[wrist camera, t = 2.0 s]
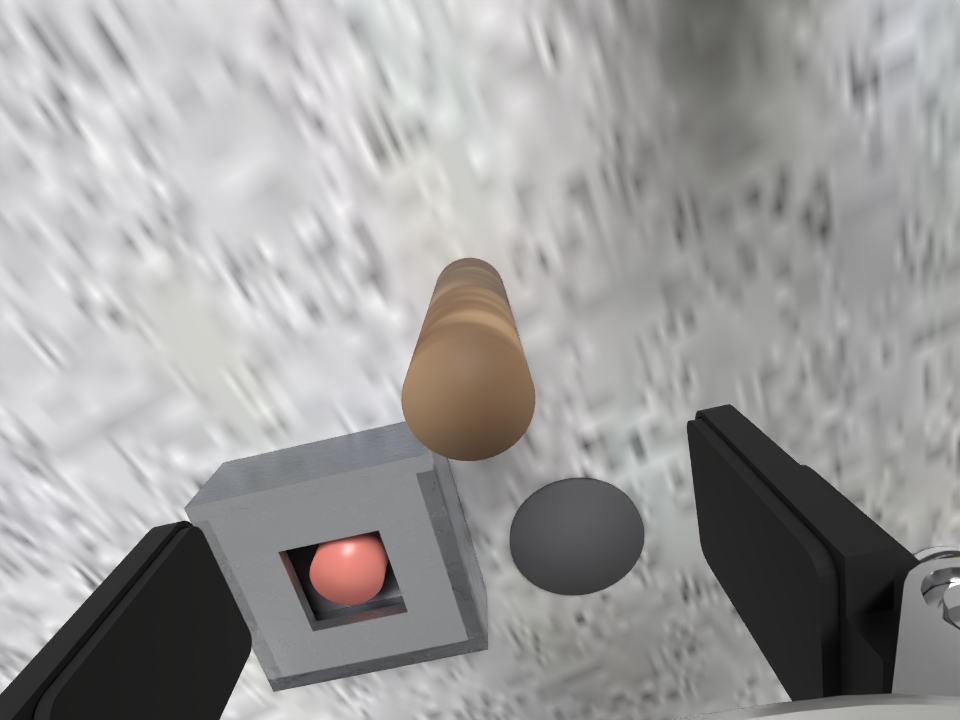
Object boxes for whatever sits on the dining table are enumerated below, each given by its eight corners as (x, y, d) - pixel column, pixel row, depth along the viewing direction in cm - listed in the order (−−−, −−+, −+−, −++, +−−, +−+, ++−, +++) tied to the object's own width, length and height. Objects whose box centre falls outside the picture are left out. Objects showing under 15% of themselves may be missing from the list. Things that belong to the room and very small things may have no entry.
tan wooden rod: (495, 250, 31) (519, 323, 15) (510, 317, 32) (547, 445, 17) (427, 267, 31) (385, 355, 16) (445, 332, 32) (421, 473, 17)
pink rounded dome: (378, 513, 34) (371, 537, 31) (397, 569, 35) (392, 597, 33) (310, 528, 34) (299, 553, 32) (333, 583, 35) (323, 611, 33)
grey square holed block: (434, 415, 34) (428, 453, 29) (485, 590, 38) (488, 649, 33) (223, 462, 35) (184, 508, 30) (297, 629, 39) (273, 691, 34)
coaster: (631, 464, 35) (634, 469, 35) (650, 574, 38) (652, 580, 37) (496, 493, 36) (497, 499, 35) (524, 600, 38) (525, 606, 38)
